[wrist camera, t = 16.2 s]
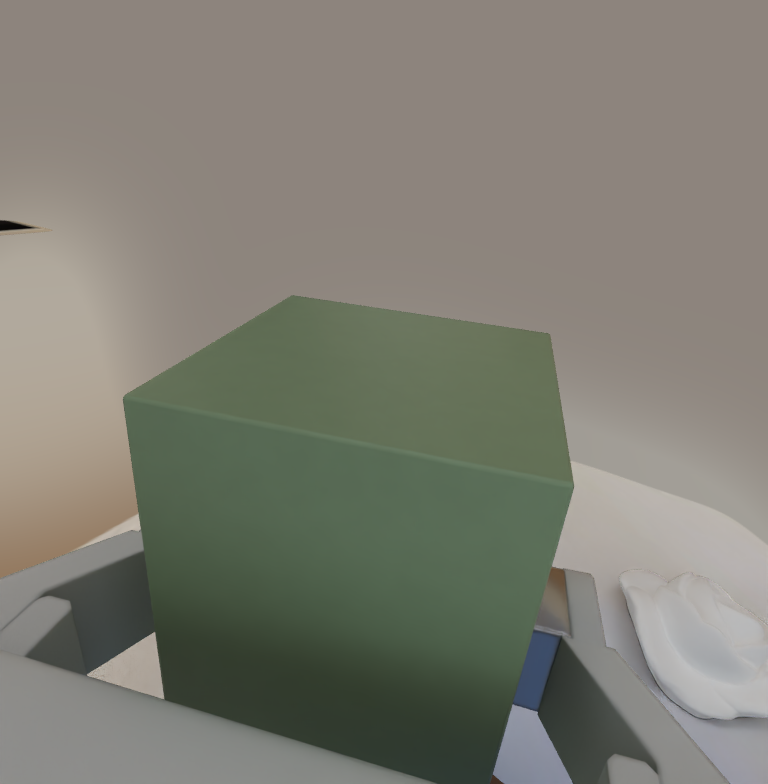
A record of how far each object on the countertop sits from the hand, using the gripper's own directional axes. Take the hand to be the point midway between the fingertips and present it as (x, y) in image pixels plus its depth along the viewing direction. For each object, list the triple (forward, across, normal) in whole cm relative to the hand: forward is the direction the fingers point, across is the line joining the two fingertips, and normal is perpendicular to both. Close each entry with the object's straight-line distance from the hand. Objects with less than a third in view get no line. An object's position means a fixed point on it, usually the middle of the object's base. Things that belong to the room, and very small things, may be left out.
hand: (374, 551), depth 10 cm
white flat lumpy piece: (+18, -16, +18) cm, 31 cm away
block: (-1, 0, +6) cm, 6 cm away
